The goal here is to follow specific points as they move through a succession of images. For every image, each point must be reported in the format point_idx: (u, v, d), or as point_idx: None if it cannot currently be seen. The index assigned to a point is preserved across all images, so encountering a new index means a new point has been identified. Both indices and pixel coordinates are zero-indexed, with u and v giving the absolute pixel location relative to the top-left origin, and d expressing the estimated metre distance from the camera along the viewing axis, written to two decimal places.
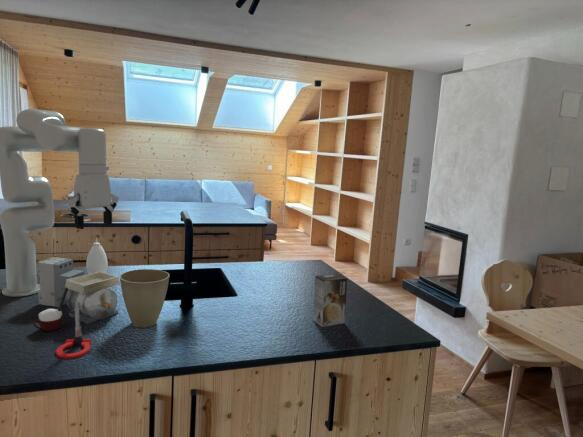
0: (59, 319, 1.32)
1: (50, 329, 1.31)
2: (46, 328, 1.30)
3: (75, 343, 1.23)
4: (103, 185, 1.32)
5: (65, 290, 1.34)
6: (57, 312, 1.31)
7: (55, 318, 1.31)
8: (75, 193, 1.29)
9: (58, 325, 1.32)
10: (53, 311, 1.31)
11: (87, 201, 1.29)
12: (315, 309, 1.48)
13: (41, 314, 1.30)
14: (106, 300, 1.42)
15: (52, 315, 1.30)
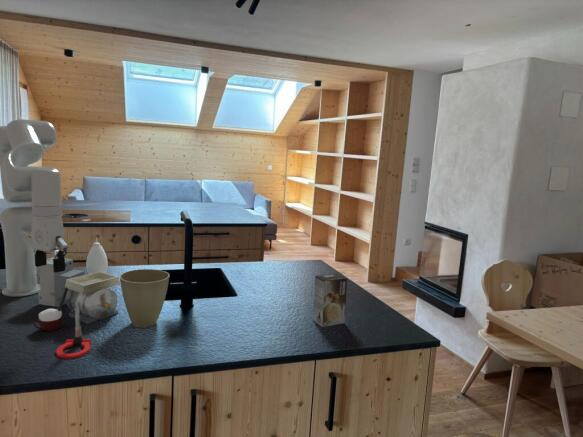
0: (59, 319, 1.32)
1: (50, 329, 1.31)
2: (46, 328, 1.30)
3: (75, 343, 1.23)
4: None
5: (65, 290, 1.34)
6: (57, 312, 1.31)
7: (55, 318, 1.31)
8: (54, 237, 1.25)
9: (58, 325, 1.32)
10: (53, 311, 1.31)
11: None
12: (315, 309, 1.48)
13: (41, 314, 1.30)
14: (106, 300, 1.42)
15: (52, 315, 1.30)
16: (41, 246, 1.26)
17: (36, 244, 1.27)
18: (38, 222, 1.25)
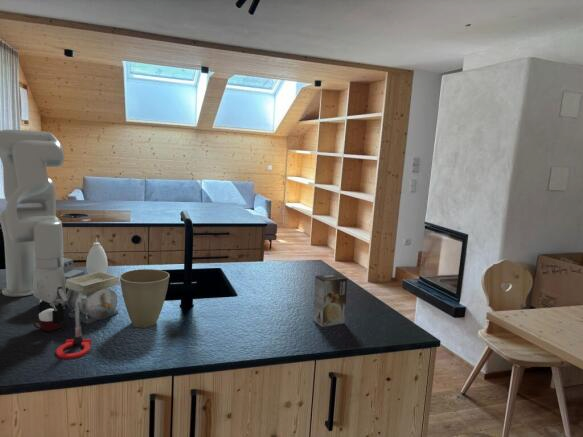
0: None
1: (50, 329, 1.31)
2: (46, 328, 1.30)
3: (75, 343, 1.23)
4: None
5: None
6: None
7: None
8: (55, 288, 1.27)
9: (58, 325, 1.32)
10: None
11: None
12: (315, 309, 1.48)
13: (41, 314, 1.30)
14: (106, 300, 1.42)
15: None
16: (43, 297, 1.28)
17: (38, 294, 1.30)
18: (40, 273, 1.28)
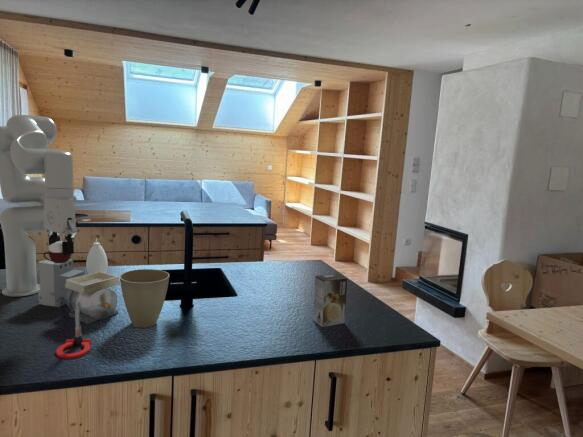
0: None
1: (60, 261, 1.31)
2: (56, 260, 1.30)
3: (75, 343, 1.23)
4: None
5: None
6: None
7: None
8: (65, 218, 1.27)
9: (68, 258, 1.32)
10: None
11: None
12: (315, 309, 1.48)
13: (51, 245, 1.30)
14: (106, 300, 1.42)
15: None
16: (53, 227, 1.28)
17: (48, 225, 1.30)
18: (51, 204, 1.28)
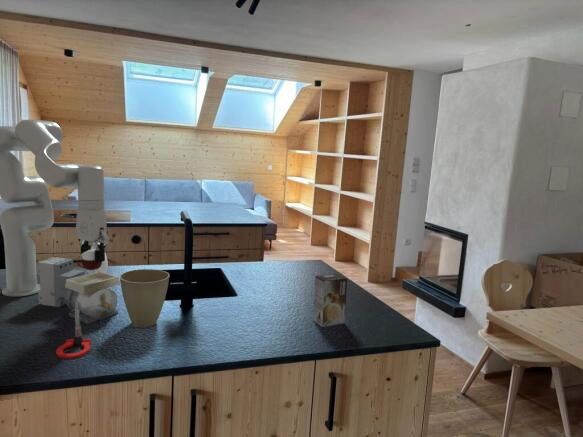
0: None
1: (92, 268, 1.40)
2: (89, 267, 1.39)
3: (75, 343, 1.23)
4: None
5: None
6: None
7: None
8: (98, 228, 1.36)
9: (99, 265, 1.41)
10: None
11: None
12: (315, 309, 1.48)
13: (84, 253, 1.39)
14: (106, 300, 1.42)
15: (94, 255, 1.39)
16: (86, 237, 1.37)
17: (81, 235, 1.39)
18: (84, 215, 1.37)
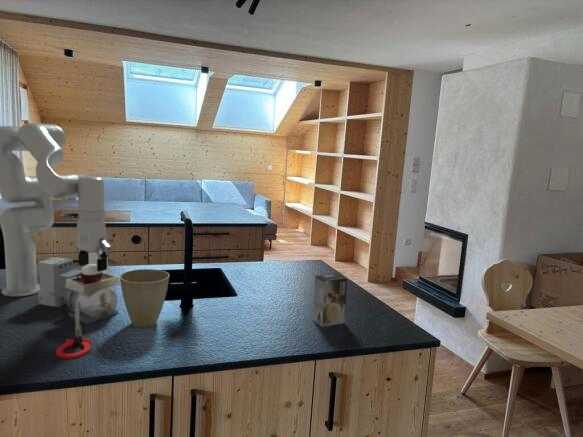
0: (100, 273, 1.42)
1: (92, 282, 1.41)
2: (88, 281, 1.40)
3: (75, 343, 1.23)
4: None
5: None
6: None
7: (97, 272, 1.41)
8: (98, 239, 1.37)
9: (99, 279, 1.42)
10: (95, 266, 1.41)
11: None
12: (315, 309, 1.48)
13: (84, 268, 1.40)
14: (106, 300, 1.42)
15: (94, 269, 1.40)
16: (86, 247, 1.38)
17: (81, 245, 1.40)
18: (84, 225, 1.38)
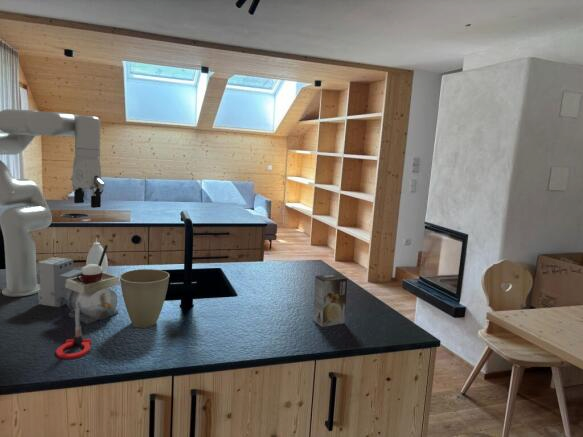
0: (100, 273, 1.42)
1: (92, 282, 1.41)
2: (88, 281, 1.40)
3: (75, 343, 1.23)
4: None
5: (105, 247, 1.44)
6: (98, 267, 1.41)
7: (97, 272, 1.41)
8: (92, 176, 1.42)
9: (99, 279, 1.42)
10: (95, 266, 1.41)
11: None
12: (315, 309, 1.48)
13: (84, 268, 1.40)
14: (106, 300, 1.42)
15: (94, 269, 1.40)
16: (81, 184, 1.43)
17: (76, 182, 1.45)
18: (80, 163, 1.43)
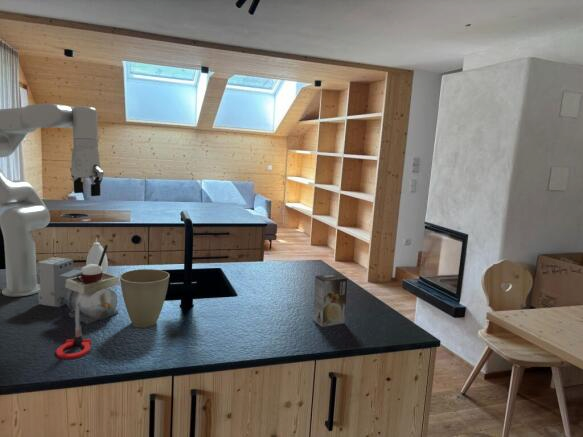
0: (100, 274, 1.42)
1: (92, 282, 1.41)
2: (88, 281, 1.40)
3: (75, 343, 1.23)
4: None
5: (105, 247, 1.44)
6: (98, 267, 1.41)
7: (97, 272, 1.41)
8: (92, 165, 1.46)
9: (99, 279, 1.42)
10: (95, 266, 1.41)
11: None
12: (315, 309, 1.48)
13: (84, 268, 1.40)
14: (106, 300, 1.42)
15: (94, 269, 1.40)
16: (81, 173, 1.47)
17: (76, 172, 1.48)
18: (78, 152, 1.47)
